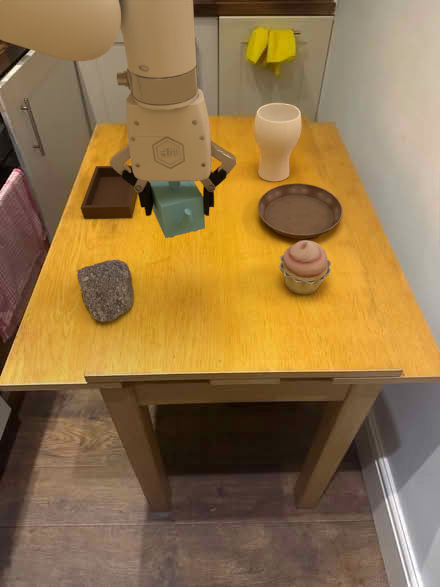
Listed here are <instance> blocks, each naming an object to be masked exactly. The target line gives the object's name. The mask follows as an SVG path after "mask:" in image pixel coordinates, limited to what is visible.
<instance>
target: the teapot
mask: <svg viewBox="0 0 440 587" xmlns="http://www.w3.org/2000/svg"><path fill="white" fill-rule="evenodd" d="M149 182H150V184H151V191H152V197H153V209H152V213H153V214H154V217H155V218H156V221H157V222H158V225H159V227H160V230H161V232H162V234H163V236H164V238H165V239H169V238H174V237H177V236H181V235H185V234H189V233H192V232H193V233H194V232H198V231H200V230H204V229H206V220H205V219H206V215H204V203H203V193H201V190H200V189H199V187H198V186H197V185H196V181H149Z"/></svg>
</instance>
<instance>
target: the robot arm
mask: <svg viewBox="0 0 440 587" xmlns="http://www.w3.org/2000/svg"><path fill="white" fill-rule="evenodd" d="M120 32H121V34H122V40H123V46H124V51H125V57H126V64H127V68H126V70H124V71H122V72H120V71H119V72H116V82H117V85H118V86H124V87H125V88H128V90H129V91H130V93H129V94H128V96H127V98H126V99H125V116H126V117H125V118H126V120H125V121H126V132H127V141H128V142H127V144H126V145H125V146H123V147H122V148H121V149H119V150H118V151H117V152H116V153H115V154H114V155H112V156H111V158H110V159H109V160H110V161H109V166H111V167H112V168H113V169H114V170H115V171H116V172H118V173H119V174H120V175H121V176H122V178H123V179H124V180H125V181H126V182H128V183H129V184H130V185H132V186H133V187H134V190H135V191H136V192H138V194H137V196H138V199H139V204H140V208H144V213H145V216H146V217H150V216H152V214H153V197H152V191H151V184H150V182H149V181H194V182H199V181H200V183H201V184H202V186H203V188H202V196H203V203H204V216H205V217H209V216H210V210H211V208H215V190H216V188H217V187H218V186H219V185H220V184H221V183H223V181H225V179H227V176H228V175H229V174H230V173H231V171H232V170H233V169H234V168H235V166H236V165H237V156H236V155H234V154H233V153H231V152H229V151H228V150H226V149H225V148H223V147H222V146H221V145H219V144H217V143H216V142H215V141H213V140H212V137H211V128H210V126H211V125H210V120H209V119H210V118H209V113H208V107H207V103H206V99H205V96H204V95H205V94H204V92H203V90H201V89H200V88H199V87H198V86H199V85H198V67H197V49H196V48H197V47H196V33H195V12H194V0H0V41H3V42H6V43H9V44H12V45H15V46H18V47H21V48H24V49H27V50H30V51H34V52H36V53H39V54H40V53H41V54H44V55H47V56H50V57H53V58H57V59H60V60H66V61H71V62H87V61H93V60H96V59H99V58H101V57H102V56H104V55H105V54H107V52H109V51H110V50H111V49H112V48H113V47H114V45H115V43H116V41H117V39H118V38H119V34H120ZM213 158H214V159H215V160H217V161H219V162H220V163H221V164H220V165H219V166H218V167H217V168H216V169H215V170H212V159H213ZM128 160H130V165H132V168H131V167H129V166H128V165H127V163H126V162H128Z"/></svg>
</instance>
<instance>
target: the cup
mask: <svg viewBox="0 0 440 587" xmlns="http://www.w3.org/2000/svg"><path fill="white" fill-rule="evenodd" d="M301 114H302V113H301V110H300V109H299V108H298V107H297V106H295V105H293V104H289V103H285V102H273V103H272V102H271V103H267V104H263V105H262V106H260V107H259V108H258V109H257V111H256V113H255V118H254V122H253V136H254V140H255V143H256V145H257V147H258V150H259V155H260V161H259V165H258V168H257V174H258V176H259V177H260V178H261V179H263V180H265V181H268V182H281V181H285V180H286V179H287V178H288V177H290V174H291V173H290V171H291V170H290V158H291V154H292V152H293V150H294V148H295V147H296V146H297V143H298V142H299V139H300V136H301V134H302V126H303V124H302V115H301Z"/></svg>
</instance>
